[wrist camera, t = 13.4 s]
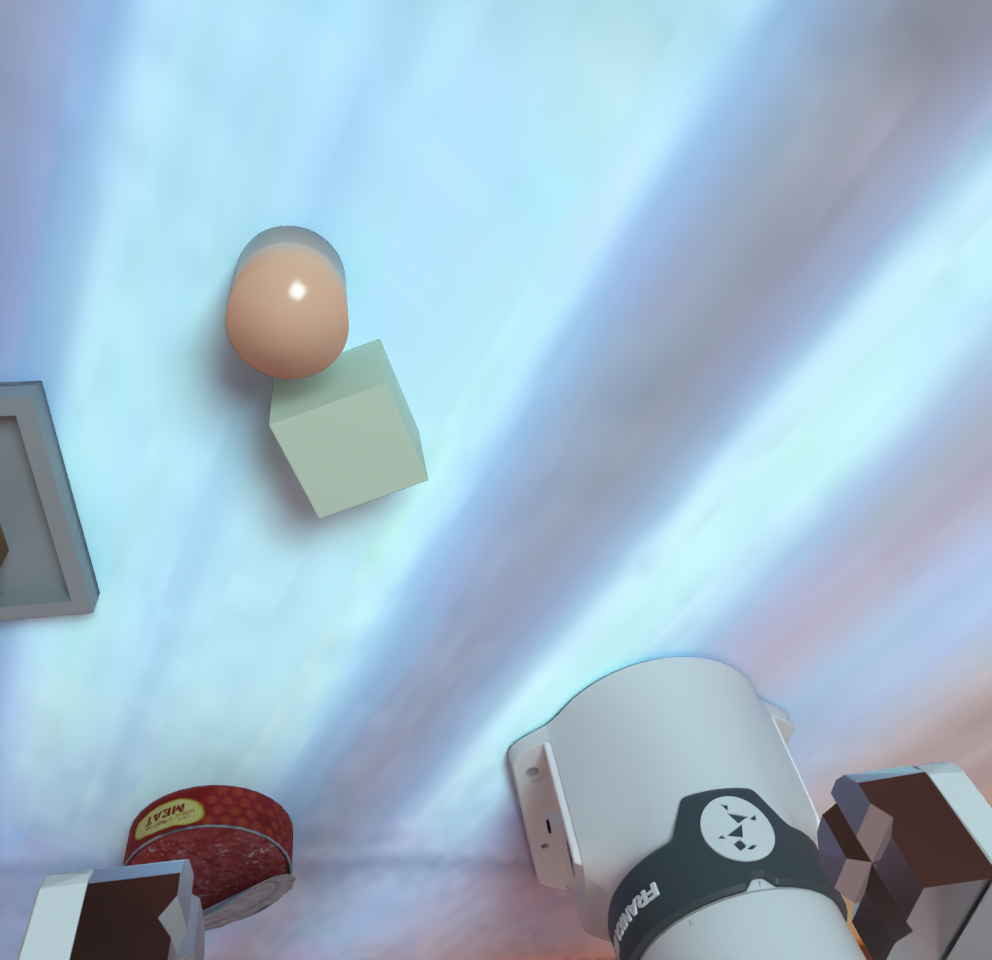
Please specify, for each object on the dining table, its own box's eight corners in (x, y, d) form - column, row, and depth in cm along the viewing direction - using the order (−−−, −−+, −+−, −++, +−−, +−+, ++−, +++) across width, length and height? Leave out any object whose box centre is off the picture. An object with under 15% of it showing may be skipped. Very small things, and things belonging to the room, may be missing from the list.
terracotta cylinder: (348, 326, 37) (351, 376, 33) (243, 329, 37) (234, 381, 33) (342, 224, 35) (345, 265, 31) (230, 226, 34) (217, 268, 30)
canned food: (269, 731, 56) (346, 840, 50) (251, 842, 60) (321, 956, 54) (86, 789, 49) (149, 925, 43) (80, 910, 53) (136, 1052, 47)
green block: (418, 429, 41) (428, 480, 37) (319, 464, 41) (319, 518, 37) (379, 337, 38) (386, 382, 34) (273, 375, 38) (269, 424, 34)
